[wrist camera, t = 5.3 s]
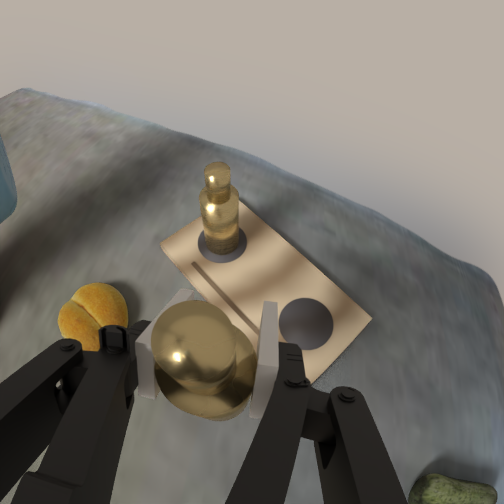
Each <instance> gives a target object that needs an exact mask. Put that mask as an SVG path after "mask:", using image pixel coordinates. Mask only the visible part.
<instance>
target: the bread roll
mask: <svg viewBox="0 0 504 504" xmlns="http://www.w3.org/2000/svg"><path fill="white" fill-rule="evenodd" d="M58 324H59V328H60V331H61V334H62V336H63V337H64V338H72V339H76V340H78V341H80V342H81V344H82V349H83V350H85V351H98V350H99V348H100V344H99V333H98V330H99V329H100V328H101V327H103V326H106V325H120V326H124V327H125V328H127V326H128V310H127V305H126V302H125V299H124V297H123V296H122V295H121V293H120V292H119V291H118V290H116V289H115V288H114V287H113V286H111V285H108V284H105V283H91V284H88V285H85V286H82V287H81V288H79V289H78V290H77V291H76V293H75V294H74V295H73V297H72V298H71V299H70V300H69V301H68V302H67V303H65V304H64V305H63V307H62V309H61V310H60V313H59V317H58Z"/></svg>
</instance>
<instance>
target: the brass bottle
mask: <svg viewBox="0 0 504 504" xmlns="http://www.w3.org/2000/svg"><path fill="white" fill-rule="evenodd" d="M151 349H152V353H153V356H154V358H155V360H156V361H155V366H154V368H155V376H156V380H157V383H158V385H159V387H160V389H161V391H162V393H163V394H164V396H165V397H166V398H167V399H168V400H169V401H170V402H171V403H172V404H173V405H175V406H176V407H178V408H179V409H181V410H183V411H185V412H187V413H190V414H193V415H196V416H199V417H202V418H205V419H208V420H212V421H226V420H229V419H232V418H234V417H236V416H238V415H239V414H240V413H241V412H242V411H243V410H244V409H245V407H246V406H247V404H248V402H249V399H250V396H251V393H252V390H253V387H254V384H255V377H256V370H257V363H258V362H257V356H256V353H255V350H254V347H253V345H252V343H251V342H250V340H249V339H248V337H247V336H246V335H245V334H244V333H243V332H242V331H241V330H240V329H239V328H237V327H236V326H235V325H233V324H232V322H231V321H230V319H229V318H228V316H227V315H226V314H225V313H224V312H223V311H222V310H221V309H219V308H218V307H217V306H215V305H213V304H211V303H208V302H204V301H199V300H189V301H183V302H180V303H177V304H175V305H173V306H171V307H169V308H168V309H167V310H165V311H164V312H163V313H162V314H161V315H160V317H159V318H158V319H157V321H156V323H155V325H154V327H153V330H152V334H151Z"/></svg>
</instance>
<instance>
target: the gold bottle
mask: <svg viewBox="0 0 504 504" xmlns="http://www.w3.org/2000/svg"><path fill="white" fill-rule="evenodd" d="M204 173H205V183H206V187H204V188H203V189H202V191H201V192H200V195H199V201H200V208H201V215H202V222H203V228H204V235H205V241H206V246H207V248H208V250H209V251H210V252H212V253H213V254H216V255H228V254H230V253H232V252H233V251H235V249H236V248H237V246H238V243H239V194H238V191H237V189H236V188H235V187H234V186H232V185H231V184H230V167H229V166H228V165H227V164H225V163H222V162H214V163H211V164H209V165H207V166H206V168H205V170H204Z"/></svg>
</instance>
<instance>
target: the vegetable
mask: <svg viewBox="0 0 504 504" xmlns="http://www.w3.org/2000/svg"><path fill="white" fill-rule="evenodd" d="M496 502H497V491H496V490H495V489H494V488H493V487H492V486H490V485H488V484H484V483H477V482H471V481H465V480H459V479H454V478H450V477H446V476H443V475H440V474H436V473H433V474H428V475H425V476H423V477H422V478H420V479H419V480H418V481H417V482H416V483H415V484H414V486H413V487H412V489H411V491H410V494H409V498H408V504H496Z"/></svg>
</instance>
